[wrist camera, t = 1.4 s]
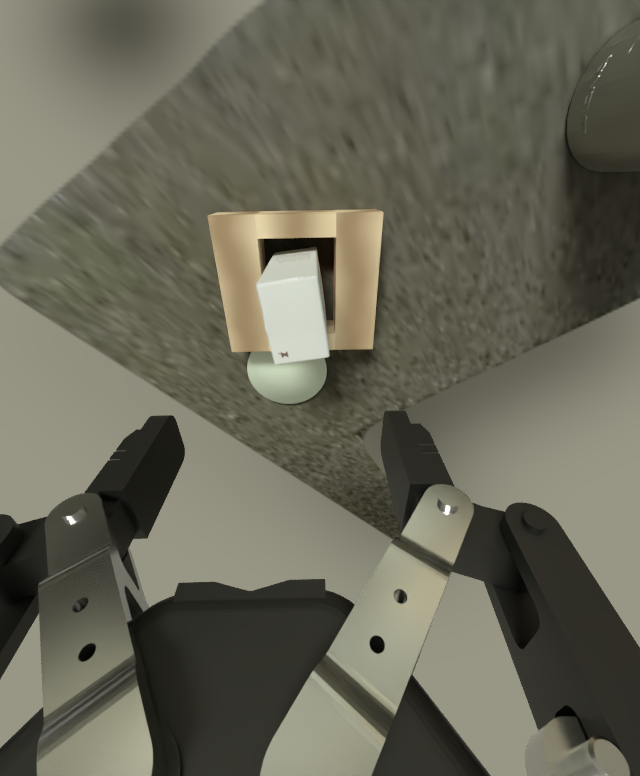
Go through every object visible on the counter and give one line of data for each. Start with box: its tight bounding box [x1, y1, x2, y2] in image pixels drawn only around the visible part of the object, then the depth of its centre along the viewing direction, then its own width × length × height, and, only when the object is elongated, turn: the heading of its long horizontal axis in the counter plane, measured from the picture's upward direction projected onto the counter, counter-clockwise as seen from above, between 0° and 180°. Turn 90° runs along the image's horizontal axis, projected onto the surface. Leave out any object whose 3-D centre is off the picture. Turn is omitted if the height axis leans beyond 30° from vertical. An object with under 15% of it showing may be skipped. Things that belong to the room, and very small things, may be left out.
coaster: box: [247, 351, 327, 404], centre depth 37 cm, size 9×9×1 cm
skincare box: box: [256, 247, 330, 365], centre depth 27 cm, size 6×4×12 cm
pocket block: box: [208, 209, 383, 352], centre depth 30 cm, size 14×12×4 cm
